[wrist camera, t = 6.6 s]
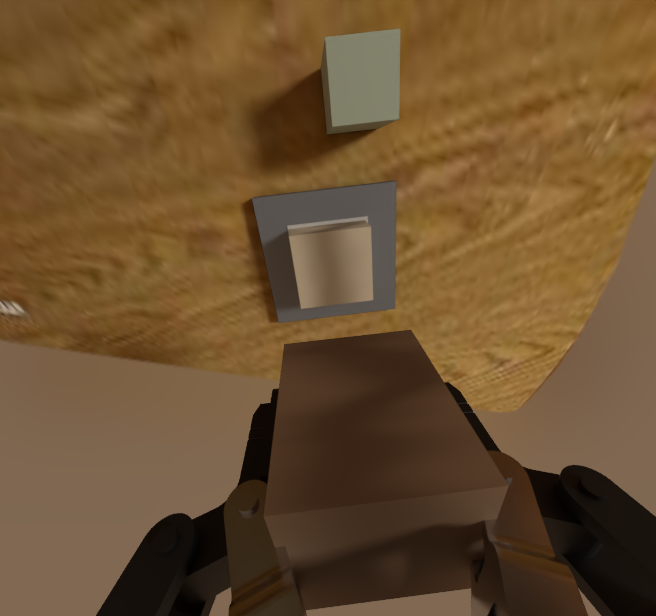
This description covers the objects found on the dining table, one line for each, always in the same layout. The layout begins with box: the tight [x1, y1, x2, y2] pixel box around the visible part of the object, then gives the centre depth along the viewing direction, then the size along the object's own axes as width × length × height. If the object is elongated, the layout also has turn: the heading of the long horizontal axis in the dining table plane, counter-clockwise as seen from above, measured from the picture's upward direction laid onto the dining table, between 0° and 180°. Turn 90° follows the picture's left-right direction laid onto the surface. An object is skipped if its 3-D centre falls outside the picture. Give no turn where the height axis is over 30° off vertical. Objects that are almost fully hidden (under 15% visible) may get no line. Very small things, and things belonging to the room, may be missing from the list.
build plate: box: [252, 181, 396, 323], centre depth 28 cm, size 13×13×1 cm
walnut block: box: [264, 330, 509, 610], centre depth 9 cm, size 5×5×6 cm
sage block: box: [321, 29, 400, 134], centre depth 20 cm, size 4×4×6 cm
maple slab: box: [289, 220, 373, 309], centre depth 27 cm, size 7×7×3 cm
